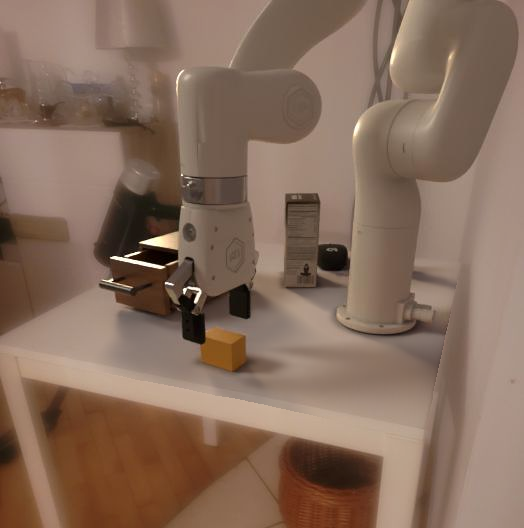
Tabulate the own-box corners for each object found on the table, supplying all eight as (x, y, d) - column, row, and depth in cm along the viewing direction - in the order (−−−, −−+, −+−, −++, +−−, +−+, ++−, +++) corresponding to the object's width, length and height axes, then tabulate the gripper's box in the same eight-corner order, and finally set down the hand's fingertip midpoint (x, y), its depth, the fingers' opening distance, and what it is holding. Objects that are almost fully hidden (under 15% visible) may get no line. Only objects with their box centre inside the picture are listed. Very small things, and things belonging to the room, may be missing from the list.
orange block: (246, 362, 66) (245, 335, 64) (232, 371, 64) (231, 344, 62) (215, 352, 69) (214, 326, 67) (201, 361, 66) (199, 335, 64)
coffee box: (283, 273, 101) (284, 192, 94) (314, 273, 101) (317, 192, 94) (283, 287, 93) (285, 200, 86) (317, 287, 93) (322, 200, 86)
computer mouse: (314, 271, 102) (315, 252, 101) (311, 255, 113) (311, 238, 111) (350, 271, 102) (352, 252, 100) (343, 255, 113) (345, 238, 111)
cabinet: (197, 307, 84) (194, 252, 80) (144, 294, 90) (138, 242, 86) (245, 284, 95) (244, 234, 91) (195, 273, 101) (192, 226, 97)
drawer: (144, 325, 75) (138, 277, 71) (94, 311, 80) (86, 265, 77) (216, 291, 89) (214, 249, 85) (169, 281, 94) (165, 240, 91)
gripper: (191, 204, 48) (198, 360, 55) (281, 186, 61) (277, 314, 68) (136, 197, 51) (149, 344, 59) (232, 181, 64) (233, 303, 72)
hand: (218, 328), depth 64 cm, fingers open, 9 cm apart
